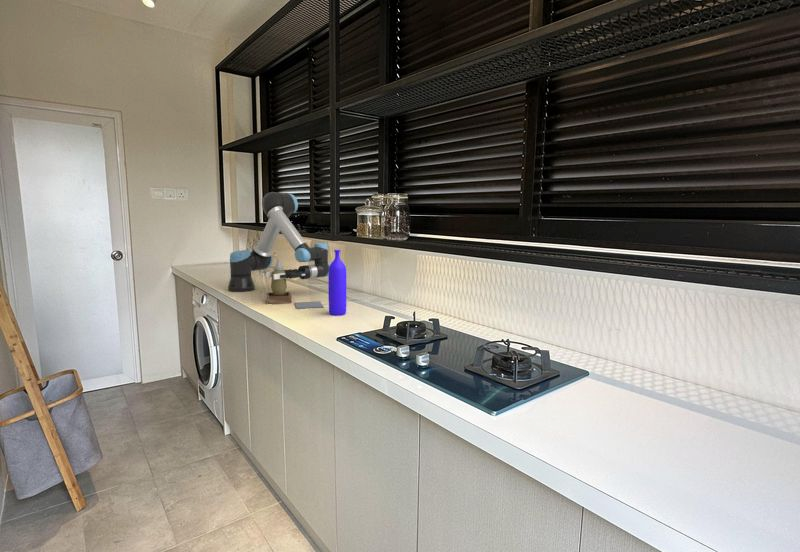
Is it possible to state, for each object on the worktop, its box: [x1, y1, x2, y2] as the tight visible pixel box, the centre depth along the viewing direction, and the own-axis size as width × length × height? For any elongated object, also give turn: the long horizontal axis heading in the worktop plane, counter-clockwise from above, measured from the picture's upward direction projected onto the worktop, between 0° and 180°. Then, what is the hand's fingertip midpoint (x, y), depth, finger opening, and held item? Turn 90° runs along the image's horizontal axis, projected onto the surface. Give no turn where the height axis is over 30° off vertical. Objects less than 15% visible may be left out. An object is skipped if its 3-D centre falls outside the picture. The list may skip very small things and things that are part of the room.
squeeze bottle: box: [270, 259, 288, 295], centre depth 216 cm, size 8×8×18 cm
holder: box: [266, 291, 293, 305], centre depth 218 cm, size 12×12×4 cm
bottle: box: [327, 249, 347, 317], centre depth 192 cm, size 8×8×30 cm
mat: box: [294, 300, 324, 310], centre depth 210 cm, size 13×13×1 cm
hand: (270, 275), depth 212 cm, fingers closed on squeeze bottle, 6 cm apart
